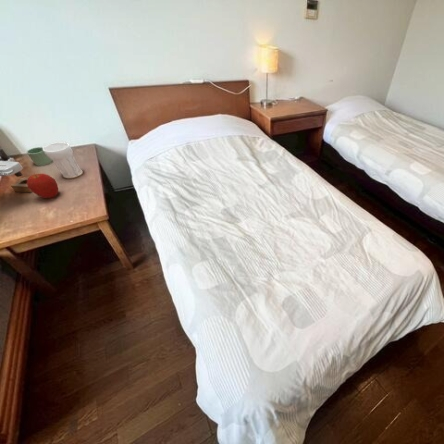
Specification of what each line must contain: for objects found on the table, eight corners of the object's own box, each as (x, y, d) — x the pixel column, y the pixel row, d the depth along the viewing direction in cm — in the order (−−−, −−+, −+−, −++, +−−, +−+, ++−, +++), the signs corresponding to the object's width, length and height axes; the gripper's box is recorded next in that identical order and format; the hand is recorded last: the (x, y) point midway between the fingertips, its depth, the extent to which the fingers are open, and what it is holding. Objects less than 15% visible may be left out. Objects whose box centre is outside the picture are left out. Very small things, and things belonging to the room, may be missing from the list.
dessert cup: (31, 164, 147) (22, 152, 142) (45, 158, 153) (37, 146, 147) (42, 167, 146) (33, 155, 140) (56, 161, 152) (48, 149, 146)
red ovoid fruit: (63, 188, 133) (47, 165, 124) (64, 198, 128) (47, 175, 118) (38, 194, 128) (20, 171, 119) (38, 204, 123) (19, 181, 113)
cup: (59, 173, 143) (40, 145, 131) (83, 167, 149) (66, 140, 137) (63, 182, 137) (43, 153, 125) (87, 175, 143) (70, 148, 131)
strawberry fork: (12, 177, 125) (-20, 138, 111) (18, 173, 127) (-12, 135, 113) (20, 177, 125) (-11, 139, 111) (26, 173, 127) (-4, 135, 113)
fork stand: (15, 192, 128) (10, 185, 125) (28, 183, 134) (22, 177, 131) (32, 192, 129) (27, 186, 126) (43, 184, 135) (38, 178, 132)
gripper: (1, 169, 109) (26, 154, 119) (-49, 166, 108) (-19, 151, 118) (11, 181, 113) (34, 165, 123) (-36, 178, 112) (-9, 163, 122)
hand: (8, 158), depth 120 cm, fingers closed on strawberry fork, 2 cm apart
